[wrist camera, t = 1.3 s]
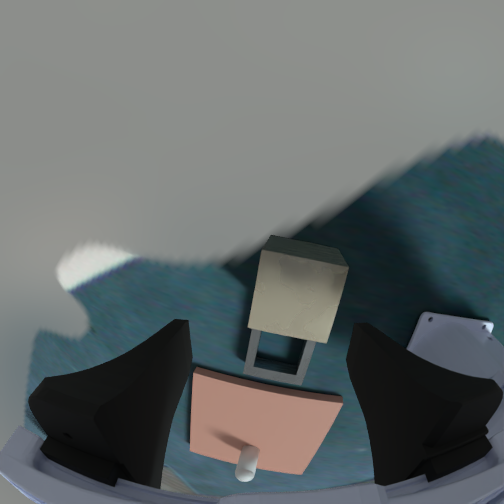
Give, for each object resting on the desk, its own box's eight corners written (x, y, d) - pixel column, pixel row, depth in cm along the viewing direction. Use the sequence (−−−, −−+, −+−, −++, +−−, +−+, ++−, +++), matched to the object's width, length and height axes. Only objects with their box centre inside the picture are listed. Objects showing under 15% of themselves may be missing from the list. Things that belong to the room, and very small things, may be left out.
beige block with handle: (271, 234, 20) (261, 249, 16) (337, 248, 20) (348, 267, 15) (246, 363, 23) (233, 400, 18) (301, 374, 23) (299, 413, 18)
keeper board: (342, 396, 23) (347, 438, 17) (301, 468, 26) (298, 502, 21) (196, 366, 24) (174, 403, 19) (192, 445, 28) (177, 476, 23)
